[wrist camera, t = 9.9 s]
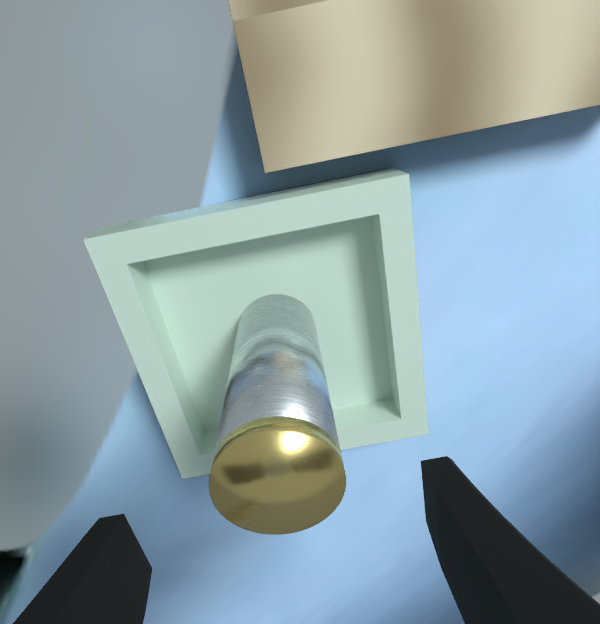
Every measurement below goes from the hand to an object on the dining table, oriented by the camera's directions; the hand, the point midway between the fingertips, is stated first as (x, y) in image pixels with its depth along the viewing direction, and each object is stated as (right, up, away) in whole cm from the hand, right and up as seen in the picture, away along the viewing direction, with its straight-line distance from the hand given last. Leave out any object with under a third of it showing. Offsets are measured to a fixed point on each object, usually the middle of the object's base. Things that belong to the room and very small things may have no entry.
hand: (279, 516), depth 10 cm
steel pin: (-1, +4, +9) cm, 10 cm away
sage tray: (-1, +4, +9) cm, 10 cm away
